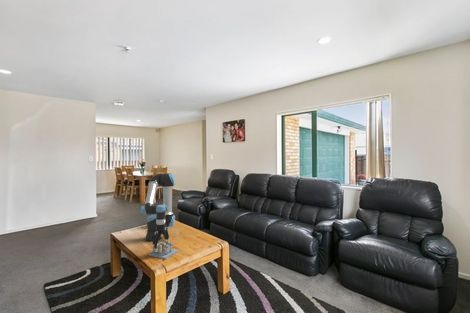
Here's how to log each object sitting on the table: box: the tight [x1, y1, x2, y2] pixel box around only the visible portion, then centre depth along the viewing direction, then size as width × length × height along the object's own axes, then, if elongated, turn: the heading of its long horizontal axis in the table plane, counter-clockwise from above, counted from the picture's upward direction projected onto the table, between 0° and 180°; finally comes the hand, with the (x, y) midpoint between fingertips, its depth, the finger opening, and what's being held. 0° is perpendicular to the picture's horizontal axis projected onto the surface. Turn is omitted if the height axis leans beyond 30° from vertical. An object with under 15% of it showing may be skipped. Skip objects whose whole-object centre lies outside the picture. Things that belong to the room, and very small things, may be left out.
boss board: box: [148, 241, 180, 260], centre depth 194 cm, size 18×16×8 cm
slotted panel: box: [152, 239, 170, 253], centre depth 195 cm, size 9×10×6 cm
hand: (161, 249), depth 195 cm, fingers closed on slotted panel, 10 cm apart
